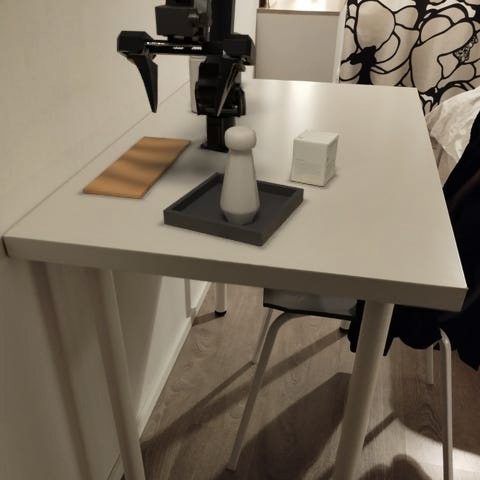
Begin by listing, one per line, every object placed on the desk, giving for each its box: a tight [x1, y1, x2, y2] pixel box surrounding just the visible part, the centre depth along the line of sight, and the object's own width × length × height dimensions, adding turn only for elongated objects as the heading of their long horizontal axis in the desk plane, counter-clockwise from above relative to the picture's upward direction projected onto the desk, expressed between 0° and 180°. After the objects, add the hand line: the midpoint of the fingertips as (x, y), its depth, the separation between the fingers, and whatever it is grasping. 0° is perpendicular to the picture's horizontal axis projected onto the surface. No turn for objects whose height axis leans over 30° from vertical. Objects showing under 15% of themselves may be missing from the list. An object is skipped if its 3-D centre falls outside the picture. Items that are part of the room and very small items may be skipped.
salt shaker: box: [220, 125, 260, 225], centre depth 72 cm, size 6×6×13 cm
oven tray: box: [162, 171, 305, 247], centre depth 79 cm, size 17×16×2 cm
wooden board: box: [82, 135, 191, 199], centre depth 95 cm, size 28×10×1 cm, turn 168°
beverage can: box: [188, 56, 207, 114], centre depth 119 cm, size 5×5×12 cm
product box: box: [290, 129, 340, 187], centre depth 88 cm, size 6×6×7 cm
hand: (185, 114), depth 74 cm, fingers open, 9 cm apart
